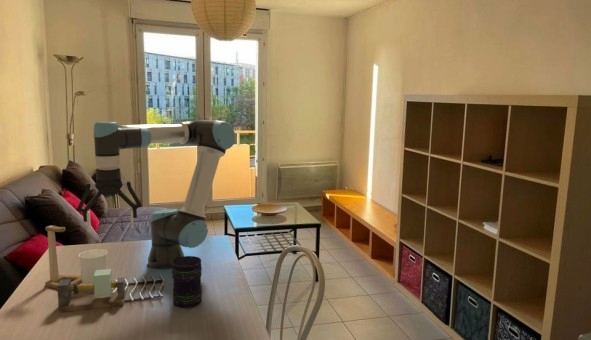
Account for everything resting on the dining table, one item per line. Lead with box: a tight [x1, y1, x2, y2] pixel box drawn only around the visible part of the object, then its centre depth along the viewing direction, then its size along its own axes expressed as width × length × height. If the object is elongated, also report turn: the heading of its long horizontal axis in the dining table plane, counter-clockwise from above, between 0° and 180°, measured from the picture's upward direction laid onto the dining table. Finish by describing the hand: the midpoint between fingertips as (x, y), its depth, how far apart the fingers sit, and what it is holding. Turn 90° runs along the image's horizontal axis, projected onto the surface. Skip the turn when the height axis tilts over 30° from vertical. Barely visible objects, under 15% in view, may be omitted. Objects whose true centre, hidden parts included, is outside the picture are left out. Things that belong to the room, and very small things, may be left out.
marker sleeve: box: [93, 268, 114, 297], centre depth 144 cm, size 5×5×7 cm
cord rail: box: [56, 277, 127, 313], centre depth 144 cm, size 20×8×8 cm, turn 107°
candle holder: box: [78, 248, 108, 285], centre depth 159 cm, size 10×10×12 cm
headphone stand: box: [44, 225, 82, 290], centre depth 158 cm, size 10×11×22 cm
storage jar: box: [171, 255, 203, 310], centre depth 146 cm, size 10×10×15 cm
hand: (111, 229), depth 145 cm, fingers open, 13 cm apart
